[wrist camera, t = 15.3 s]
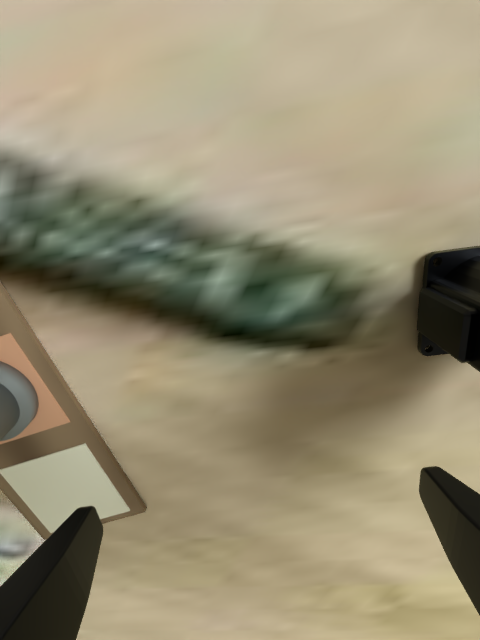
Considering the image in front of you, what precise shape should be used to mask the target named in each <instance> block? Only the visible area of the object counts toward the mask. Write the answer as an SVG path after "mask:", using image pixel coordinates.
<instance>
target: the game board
mask: <svg viewBox="0 0 480 640" xmlns="http://www.w3.org/2000/svg"><path fill="white" fill-rule="evenodd" d="M0 361H1V362H4V363H6V364H9V365H11V366H12V367H14V368H16V369H17V370H19V371H20V372H21V373H22V374H24V375H25V376H26V377H27V378H28V380H29V381H30V382H31V383H32V385H33V386H34V388H35V390H36V393H37V396H38V401H39V407H38V411H37V414H36V416H35V418H34V419H33V420H32V421H31V422H30V424H29V425H28V426H27V427H26V428H25V429H24V430H23V431H22V432H21V433H20V434H19V435H17V436H16V437H14V438H11V439H8V440H5V441H0V489H1V490H2V491H3V492H4V493H5V495H6V496H7V497H8V498H9V499H10V500H11V502H12V503H13V504H14V505H15V506H16V507H17V509H18V510H19V511H20V512H21V513H22V514H23V516H24V517H25V518H26V519H27V520H28V521H29V523H30V524H31V525H32V526H33V527H34V528H35V530H36V531H37V532H38V533H39V534H40V535H41V537H42V538H43V539H44V540H45V539H48V538H49V536H50V535H51V534H52V533H53V532H54V531H55V530H56V529H57V528H58V527H59V526H60V525H61V524H62V523H63V522H64V521H65V520H66V519H67V518H68V517H69V516H70V515H71V514H72V513H73V512H74V511H75V510H76V509H78V508H79V507H85V506H94V507H95V508H96V511H97V513H98V515H99V518H100V520H101V523H102V524H103V523H106V522H110V521H114V520H117V519H121V518H125V517H128V516H132V515H135V514H139V513H143V512H145V511H146V508H147V507H146V505H145V504H144V502H143V501H142V499H141V498H140V496H139V495H138V493H137V491H136V490H135V488H134V487H133V485H132V484H131V482H130V481H129V479H128V478H127V476H126V474H125V473H124V471H123V470H122V468H121V467H120V465H119V464H118V462H117V461H116V459H115V458H114V456H113V454H112V453H111V451H110V450H109V448H108V447H107V445H106V444H105V442H104V441H103V439H102V437H101V436H100V434H99V433H98V431H97V430H96V428H95V427H94V425H93V424H92V422H91V420H90V419H89V417H88V416H87V414H86V413H85V411H84V410H83V408H82V407H81V405H80V403H79V402H78V400H77V399H76V397H75V396H74V394H73V393H72V391H71V390H70V388H69V386H68V385H67V383H66V382H65V380H64V379H63V377H62V376H61V374H60V373H59V371H58V369H57V368H56V366H55V365H54V363H53V362H52V360H51V359H50V357H49V356H48V354H47V352H46V351H45V349H44V348H43V346H42V345H41V343H40V342H39V340H38V339H37V337H36V335H35V334H34V332H33V331H32V329H31V328H30V326H29V325H28V323H27V322H26V320H25V318H24V317H23V315H22V314H21V312H20V311H19V309H18V308H17V306H16V305H15V303H14V301H13V300H12V298H11V297H10V295H9V294H8V292H7V291H6V289H5V288H4V286H3V284H2V283H1V281H0Z"/></svg>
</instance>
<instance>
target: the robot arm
mask: <svg viewBox="0 0 480 640" xmlns="http://www.w3.org/2000/svg"><path fill="white" fill-rule="evenodd" d="M435 258H438V261H437V263H436V264H434V265H433V260H434V259H435ZM417 330H418V331H419V336H418V350H419V352H420V353H422V354H423V355H425V356H432V355H440V354H450V355H451V356H453V357H454V358H455V359H457V360H458V361H459V362H461V363H466V362H467V363H468V364H470V365H471V366H472V367H474V368H475V369H476V370H478V371H479V372H480V246H474V247H466V248H459V249H451V250H444V251H436V252H432V253H430V254H429V255H427V257H426V258H425V262H424V275H423V287H422V290H421V291H420V296H419V309H418V321H417ZM429 345H430V346H429ZM427 346H429V348H428V349H426V350H425V348H426V347H427ZM419 494H420V497H421V500H422V502H423V504H424V507H425V509H426V511H427V513H428V515H429V518H430V520H431V522H432V524H433V526H434V529H435V531H436V533H437V535H438V538H439V540H440V542H441V544H442V546H443V549H444V551H445V553H446V555H447V557H448V559H449V561H450V563H451V565H452V567H453V569H454V571H455V573H456V574H457V576H458V578H459V580H460V581H461V583H462V585H463V587H464V589H465V590H466V592H467V594H468V596H469V597H470V599H471V601H472V603H473V605H474V606H475V608H476V610H477V612H478V613H479V615H480V494H478V493H477V492H476V491H474V490H473V489H471V488H470V487H468V486H467V485H465V484H464V483H462V482H461V481H459V480H458V479H456V478H455V477H453V476H452V475H450V474H449V473H447V472H446V471H444V470H443V469H441V468H440V467H437V466H434V467H425V468H422V470H421V474H420V484H419ZM102 536H103V525H102V523H101V520H100V518H99V515H98V513H97V511H96V508H95V507H94V506H85V507H79V508H78V509H76V510H75V511H74V512H73V513H72V514H71V515H70V516H69V517H68V518H67V519H66V520H65V521H64V522H63V523H62V524H61V525H60V526H59V527H58V528H57V529H56V530H55V531H54V532H53V533H52V534H51V535H50V536H49V538H48V539H47V540H46V541H45V542H44V543H43V544H42V545H41V546H40V547H39V548H38V549H37V550H36V551H35V552H34V553H33V554H32V555H31V556H30V557H29V558H28V559H27V560H26V561H25V562H24V563H23V564H22V565H21V566H20V567H19V568H18V569H17V570H16V571H15V572H14V573H13V574H12V575H11V576H10V577H9V578H8V579H7V580H6V581H5V582H4V583H3V584H2V585H1V586H0V640H76V638H77V634H78V631H79V628H80V625H81V622H82V618H83V615H84V612H85V609H86V605H87V602H88V598H89V594H90V590H91V586H92V581H93V576H94V572H95V567H96V563H97V558H98V554H99V549H100V545H101V540H102Z"/></svg>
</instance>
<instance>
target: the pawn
mask: <svg viewBox="0 0 480 640" xmlns="http://www.w3.org/2000/svg"><path fill="white" fill-rule="evenodd" d="M38 407H39V401H38V396H37V393H36V390H35V388H34V386H33V385H32V383H31V382H30V381H29V380H28V378H27V377H26V376H25V375H24V374H22V373H21V372H20V371H19V370H17V369H16V368H14V367H12V366H11V365H9V364H6V363H4V362H1V361H0V441H5V440H8V439H11V438H14V437H16V436H17V435H19V434H20V433H21V432H22V431H23V430H24V429H25V428H26V427H27V426H28V425H29V424H30V422H31V421H32V420H33V419H34V418H35V416H36V414H37V411H38Z"/></svg>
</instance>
